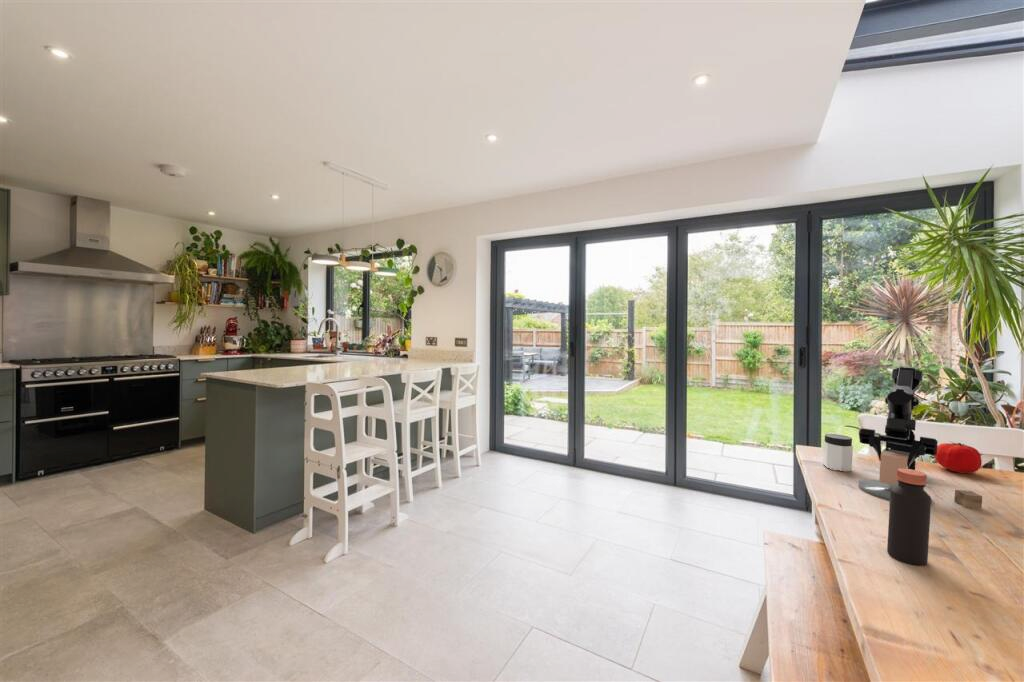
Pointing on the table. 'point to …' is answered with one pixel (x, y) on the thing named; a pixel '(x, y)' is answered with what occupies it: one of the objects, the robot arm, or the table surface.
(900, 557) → the bottle
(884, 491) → the plate
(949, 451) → the tomato
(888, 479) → the tan rectangular block
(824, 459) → the jar
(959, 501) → the block
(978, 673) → the table surface
